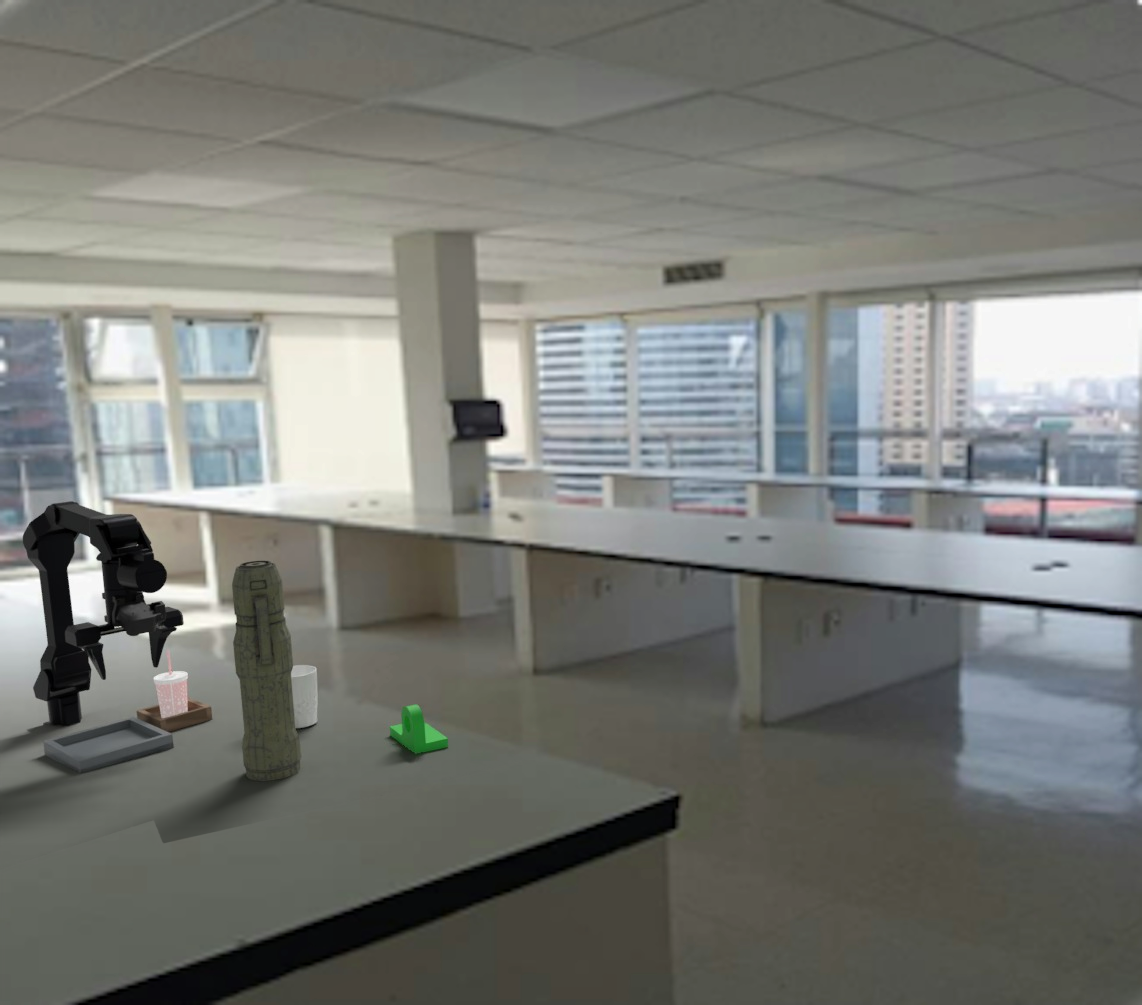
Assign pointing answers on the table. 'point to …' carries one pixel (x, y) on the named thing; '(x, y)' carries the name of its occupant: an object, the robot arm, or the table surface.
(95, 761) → the tray
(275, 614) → the thermos
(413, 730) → the mechanical part
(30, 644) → the table surface
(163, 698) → the beverage cup
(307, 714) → the white cup
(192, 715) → the square frame
